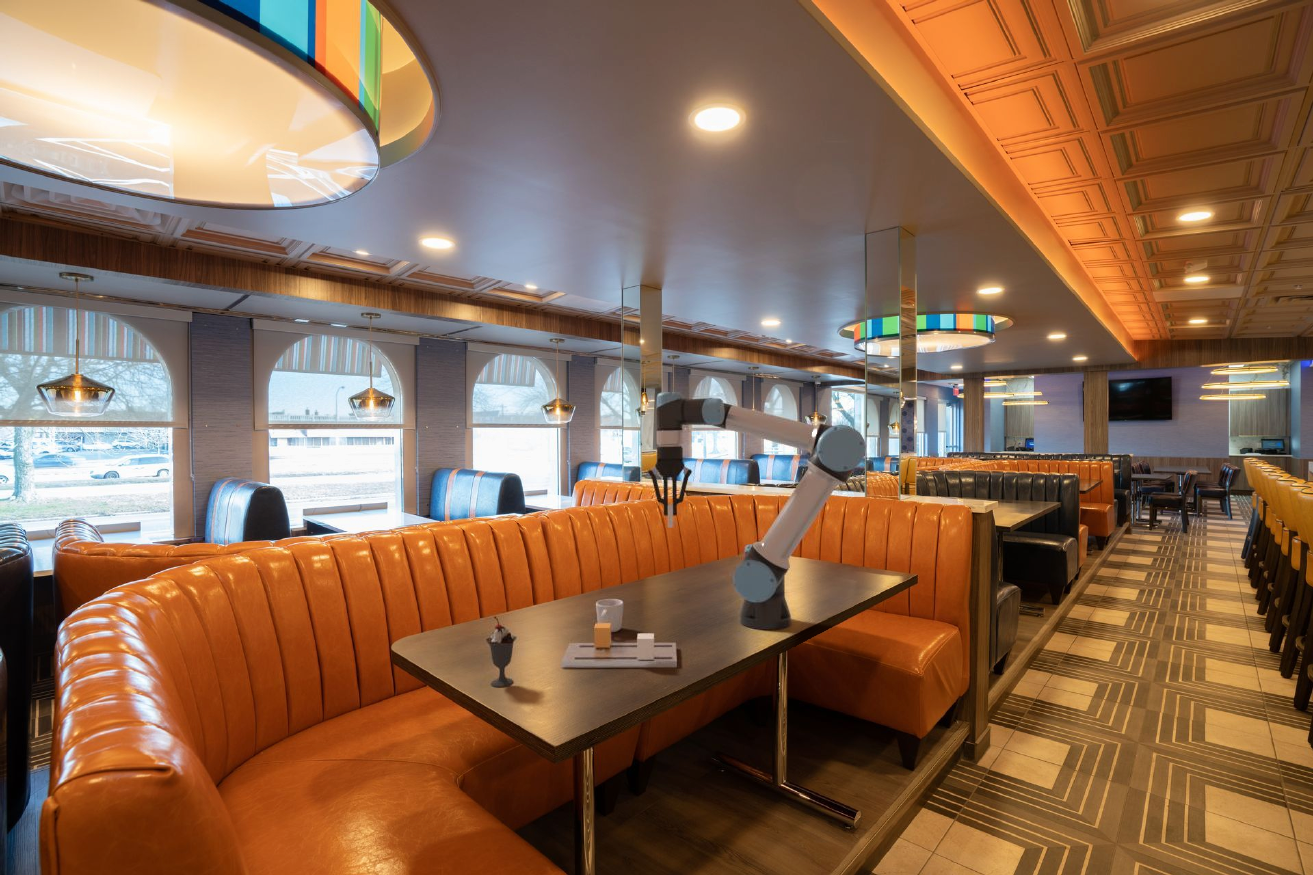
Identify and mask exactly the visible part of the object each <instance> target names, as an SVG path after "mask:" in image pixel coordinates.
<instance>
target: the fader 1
mask: <svg viewBox="0 0 1313 875" xmlns="http://www.w3.org/2000/svg"><path fill="white" fill-rule="evenodd" d="M593 643H594V647H610V645H611V643H612V632H611V623H598V622H597V623H595V625H594V628H593Z"/></svg>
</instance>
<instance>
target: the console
mask: <svg viewBox="0 0 1313 875" xmlns="http://www.w3.org/2000/svg"><path fill="white" fill-rule="evenodd" d="M677 663H678V660H677V643H676V642H654V659H650V660H637V642H611V645H610V647H594V642H569V643H568V646H567V648H566V650H565V652H564V655H563V657H562V659H561V661H560V664H561V665H560V668H561V669H562V668H563V669H564V668H565V669H566V668H567V669H569V668H571V669H572V668H578V669H579V668H581V669H582V668H584V669H585V668H586V669H589V668H591V669H592V668H597V669H598V668H601V669H602V668H604V669H605V668H608V669H609V668H678V664H677Z"/></svg>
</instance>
